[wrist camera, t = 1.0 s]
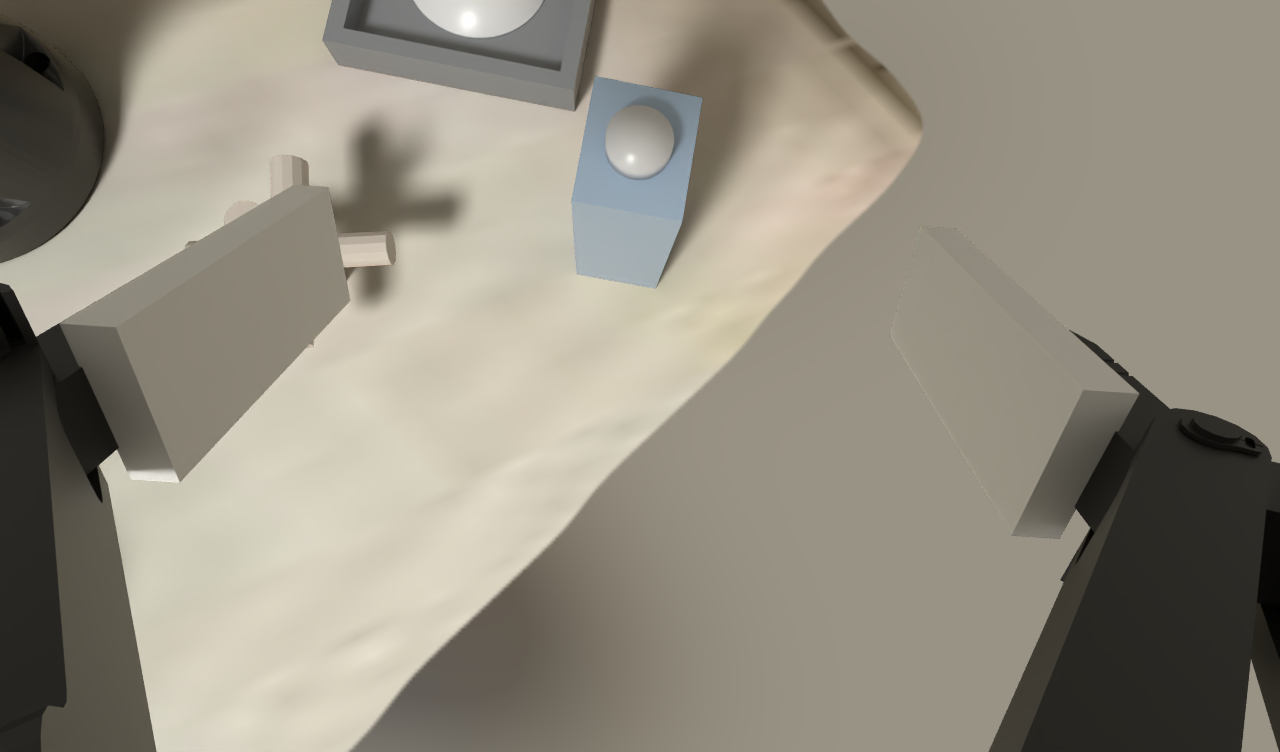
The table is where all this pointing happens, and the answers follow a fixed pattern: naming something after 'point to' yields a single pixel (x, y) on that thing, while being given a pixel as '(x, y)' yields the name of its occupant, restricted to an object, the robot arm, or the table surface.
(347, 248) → the pipe connector
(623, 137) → the block
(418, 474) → the table surface
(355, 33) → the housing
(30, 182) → the robot arm
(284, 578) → the table surface
